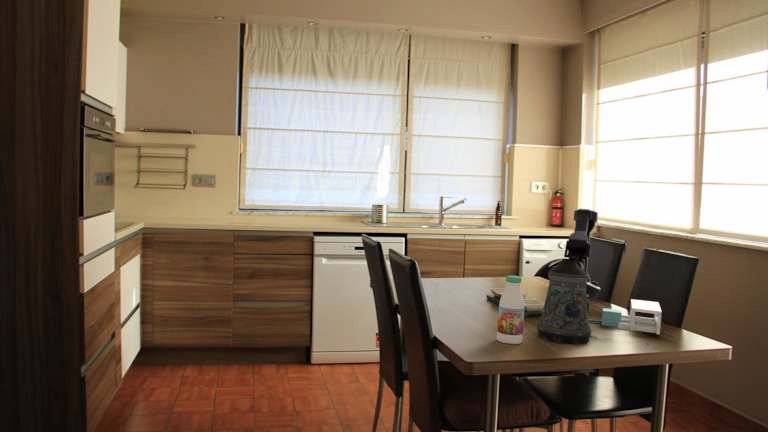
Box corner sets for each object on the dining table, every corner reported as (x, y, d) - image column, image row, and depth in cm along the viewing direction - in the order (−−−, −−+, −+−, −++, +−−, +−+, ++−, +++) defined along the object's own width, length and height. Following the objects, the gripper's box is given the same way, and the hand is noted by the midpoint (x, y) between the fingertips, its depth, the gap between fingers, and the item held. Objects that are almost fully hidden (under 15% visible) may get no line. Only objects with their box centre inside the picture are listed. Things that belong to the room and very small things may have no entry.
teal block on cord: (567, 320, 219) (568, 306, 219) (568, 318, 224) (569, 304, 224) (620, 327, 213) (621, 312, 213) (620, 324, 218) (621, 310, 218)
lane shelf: (592, 329, 214) (594, 303, 213) (594, 319, 231) (595, 295, 230) (659, 338, 207) (661, 311, 206) (656, 327, 223) (658, 302, 223)
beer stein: (553, 345, 190) (559, 263, 188) (523, 329, 209) (528, 254, 207) (601, 344, 194) (607, 264, 193) (567, 329, 213) (572, 255, 211)
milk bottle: (493, 337, 196) (498, 273, 194) (518, 338, 196) (522, 274, 195) (500, 344, 188) (504, 278, 187) (525, 345, 189) (530, 279, 187)
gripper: (599, 279, 209) (595, 326, 210) (600, 272, 226) (597, 315, 227) (564, 276, 213) (561, 321, 214) (568, 269, 230) (565, 311, 231)
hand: (572, 317), depth 221 cm, fingers closed on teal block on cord, 3 cm apart
